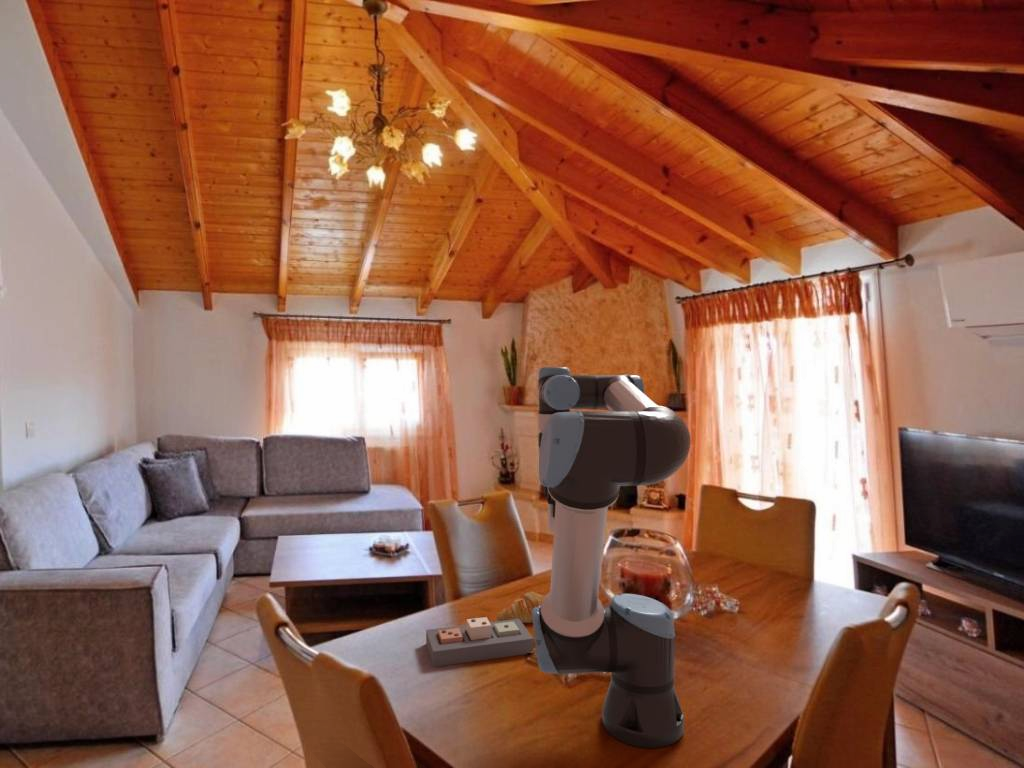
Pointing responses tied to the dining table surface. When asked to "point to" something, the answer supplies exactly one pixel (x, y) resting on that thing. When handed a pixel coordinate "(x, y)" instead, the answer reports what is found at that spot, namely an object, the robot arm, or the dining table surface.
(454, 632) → the button three
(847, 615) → the dining table surface
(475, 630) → the button two
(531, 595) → the croissant
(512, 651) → the console
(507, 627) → the button one
